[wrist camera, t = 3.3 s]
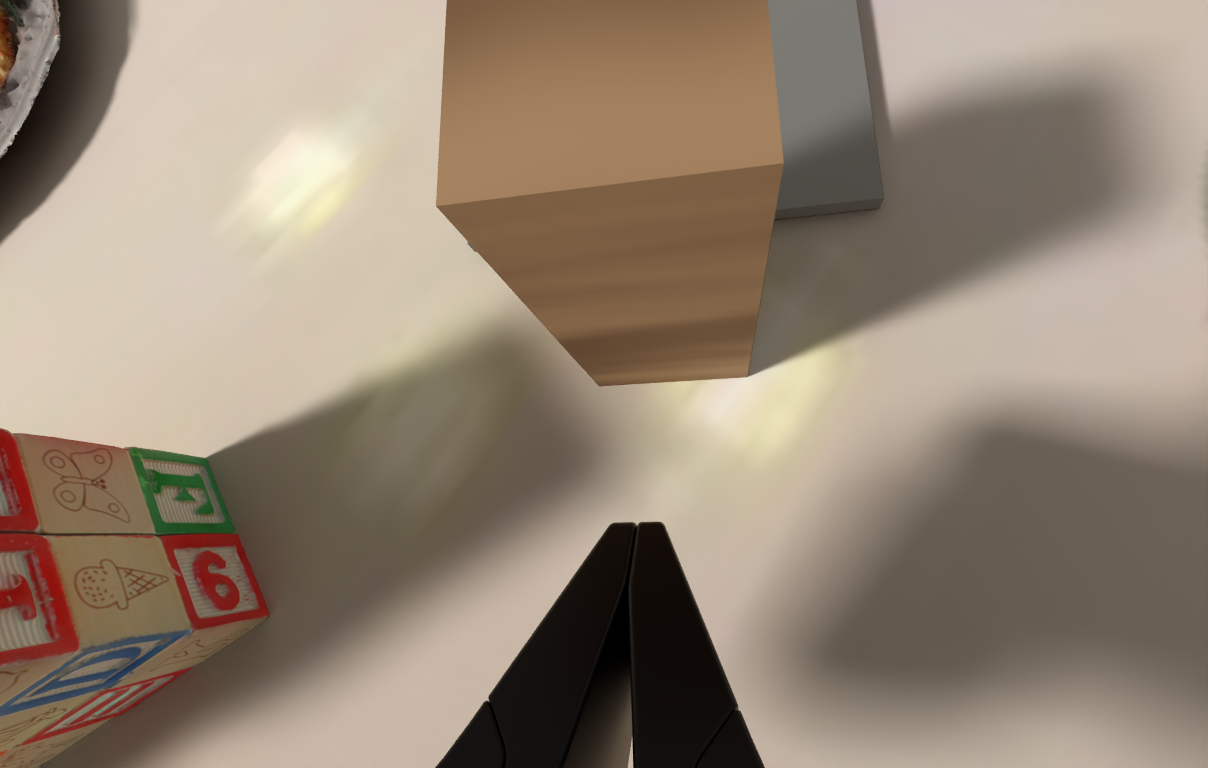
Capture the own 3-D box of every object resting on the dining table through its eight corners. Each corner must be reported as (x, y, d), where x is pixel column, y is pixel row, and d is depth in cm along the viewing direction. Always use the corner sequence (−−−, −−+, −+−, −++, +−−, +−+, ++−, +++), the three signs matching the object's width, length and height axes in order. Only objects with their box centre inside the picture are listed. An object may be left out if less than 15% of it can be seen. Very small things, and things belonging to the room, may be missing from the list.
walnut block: (747, 376, 18) (783, 163, 7) (598, 386, 18) (436, 206, 8) (736, 238, 19) (755, -127, 8) (596, 252, 20) (450, -62, 9)
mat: (878, 208, 18) (883, 197, 17) (474, 251, 20) (467, 243, 20) (824, -189, 22) (827, -208, 21) (487, -113, 24) (481, -129, 24)
